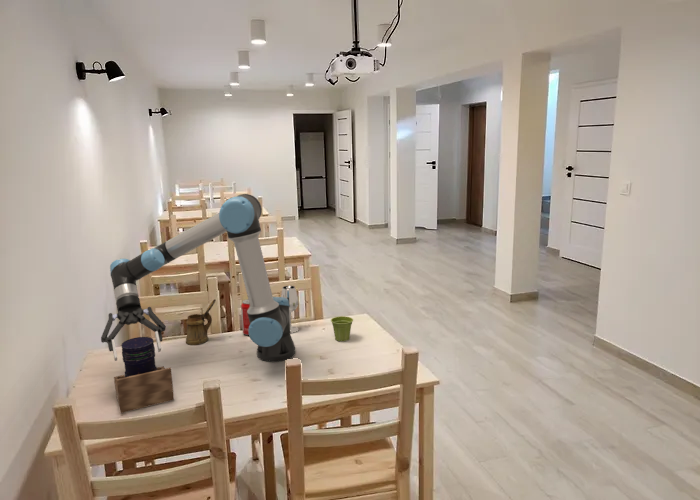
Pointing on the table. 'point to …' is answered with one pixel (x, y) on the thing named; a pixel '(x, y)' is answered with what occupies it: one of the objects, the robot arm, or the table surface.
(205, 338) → the wooden mug
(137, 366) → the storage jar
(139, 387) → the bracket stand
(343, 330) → the plant pot
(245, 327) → the soda can
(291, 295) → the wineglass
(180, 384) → the table surface
